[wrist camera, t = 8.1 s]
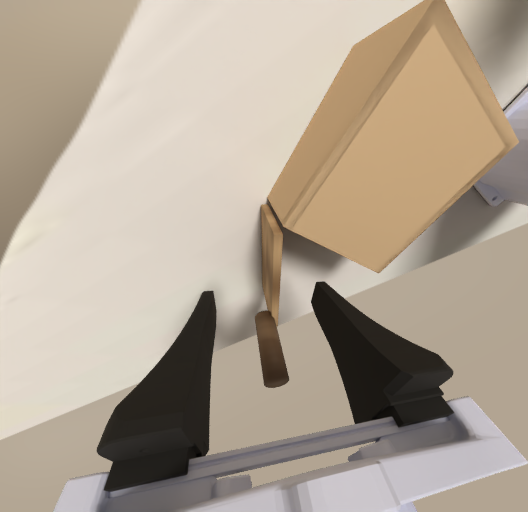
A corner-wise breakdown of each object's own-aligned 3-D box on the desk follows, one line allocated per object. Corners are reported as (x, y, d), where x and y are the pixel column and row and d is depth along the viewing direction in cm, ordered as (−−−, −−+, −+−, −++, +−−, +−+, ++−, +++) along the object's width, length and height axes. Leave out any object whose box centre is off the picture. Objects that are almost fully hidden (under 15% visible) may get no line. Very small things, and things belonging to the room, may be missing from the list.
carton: (430, 137, 16) (519, 142, 11) (343, 238, 21) (378, 273, 16) (353, 45, 12) (439, -10, 7) (267, 197, 17) (283, 226, 12)
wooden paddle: (267, 285, 22) (292, 384, 14) (250, 287, 22) (264, 389, 14) (267, 204, 17) (310, 288, 8) (244, 205, 16) (262, 294, 8)
